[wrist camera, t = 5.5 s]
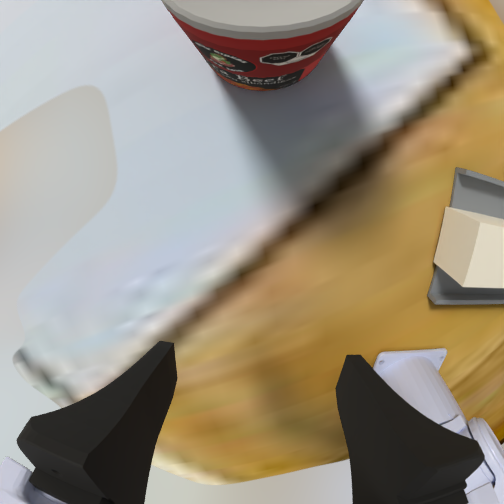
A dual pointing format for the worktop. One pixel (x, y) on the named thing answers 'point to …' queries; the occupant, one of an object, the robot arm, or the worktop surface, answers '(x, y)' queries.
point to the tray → (478, 201)
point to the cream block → (472, 248)
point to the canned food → (262, 36)
